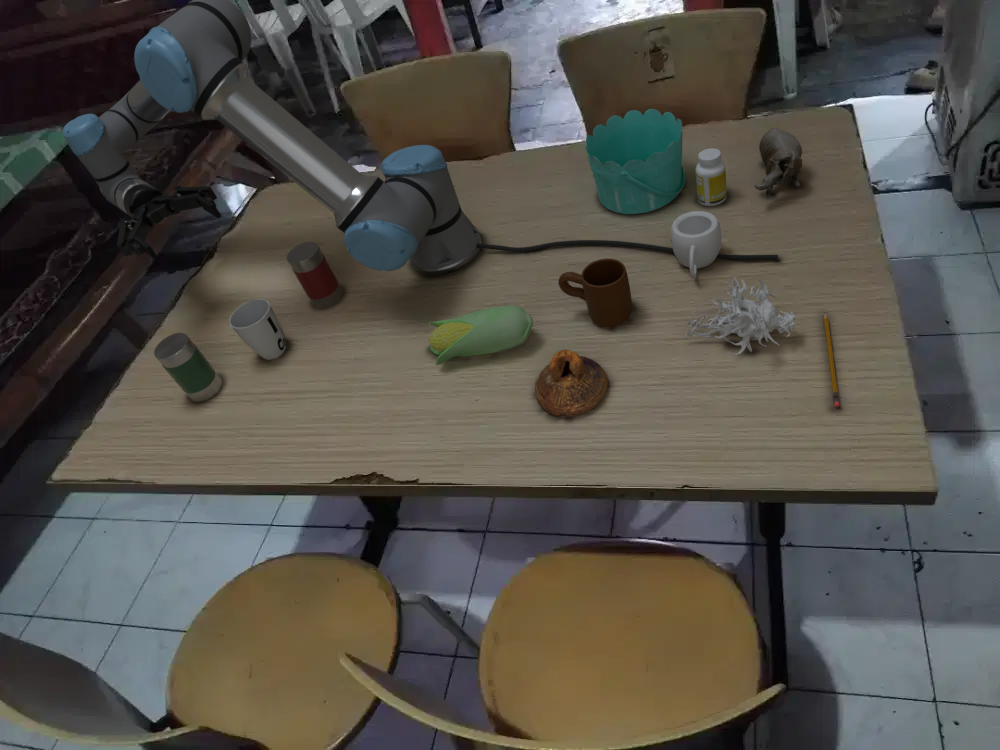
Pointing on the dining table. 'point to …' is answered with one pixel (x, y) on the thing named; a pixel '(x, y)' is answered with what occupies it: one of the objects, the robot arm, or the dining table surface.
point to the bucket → (637, 161)
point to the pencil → (831, 362)
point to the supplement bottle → (711, 178)
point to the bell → (570, 384)
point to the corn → (480, 332)
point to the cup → (259, 328)
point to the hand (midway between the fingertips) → (185, 232)
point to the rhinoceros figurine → (779, 158)
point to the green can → (188, 367)
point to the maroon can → (315, 274)
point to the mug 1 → (602, 291)
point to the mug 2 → (696, 239)
